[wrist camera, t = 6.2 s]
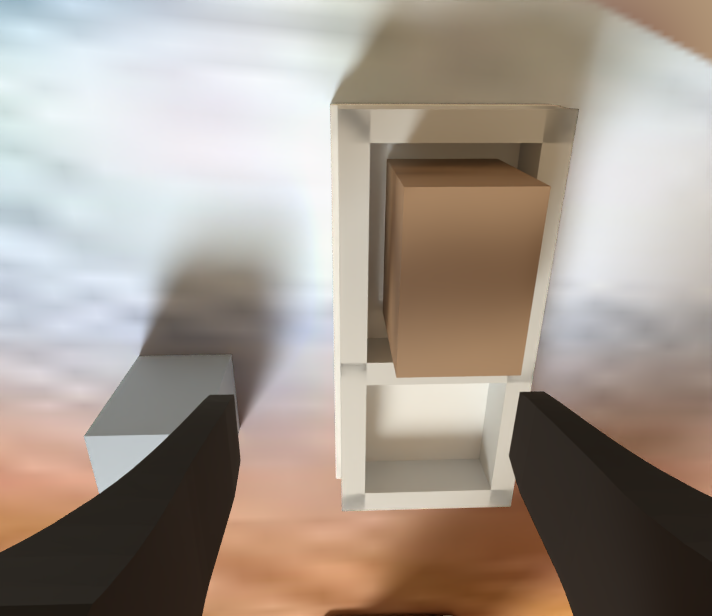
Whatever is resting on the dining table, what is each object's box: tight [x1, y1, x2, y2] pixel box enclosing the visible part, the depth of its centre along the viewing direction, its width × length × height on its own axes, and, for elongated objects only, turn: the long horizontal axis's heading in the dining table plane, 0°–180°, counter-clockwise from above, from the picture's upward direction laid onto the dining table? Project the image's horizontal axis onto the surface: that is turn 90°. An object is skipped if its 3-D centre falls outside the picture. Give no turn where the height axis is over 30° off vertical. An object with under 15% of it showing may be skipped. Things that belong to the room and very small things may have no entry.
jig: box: [330, 104, 579, 511], centre depth 21 cm, size 16×8×3 cm, turn 0°
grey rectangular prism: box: [84, 354, 240, 494], centre depth 21 cm, size 4×4×6 cm
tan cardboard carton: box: [383, 159, 551, 378], centre depth 17 cm, size 6×4×5 cm, turn 0°
